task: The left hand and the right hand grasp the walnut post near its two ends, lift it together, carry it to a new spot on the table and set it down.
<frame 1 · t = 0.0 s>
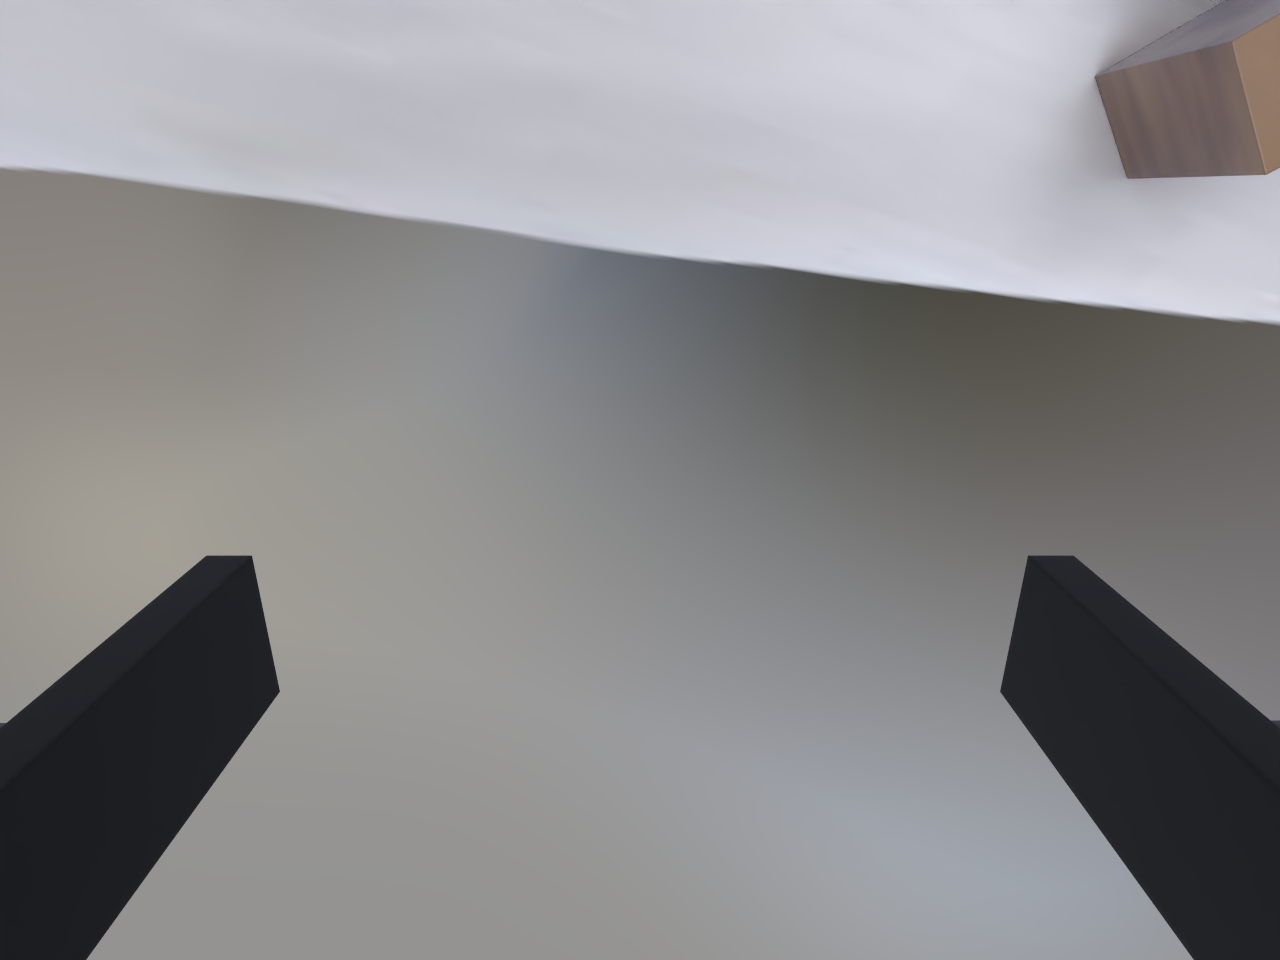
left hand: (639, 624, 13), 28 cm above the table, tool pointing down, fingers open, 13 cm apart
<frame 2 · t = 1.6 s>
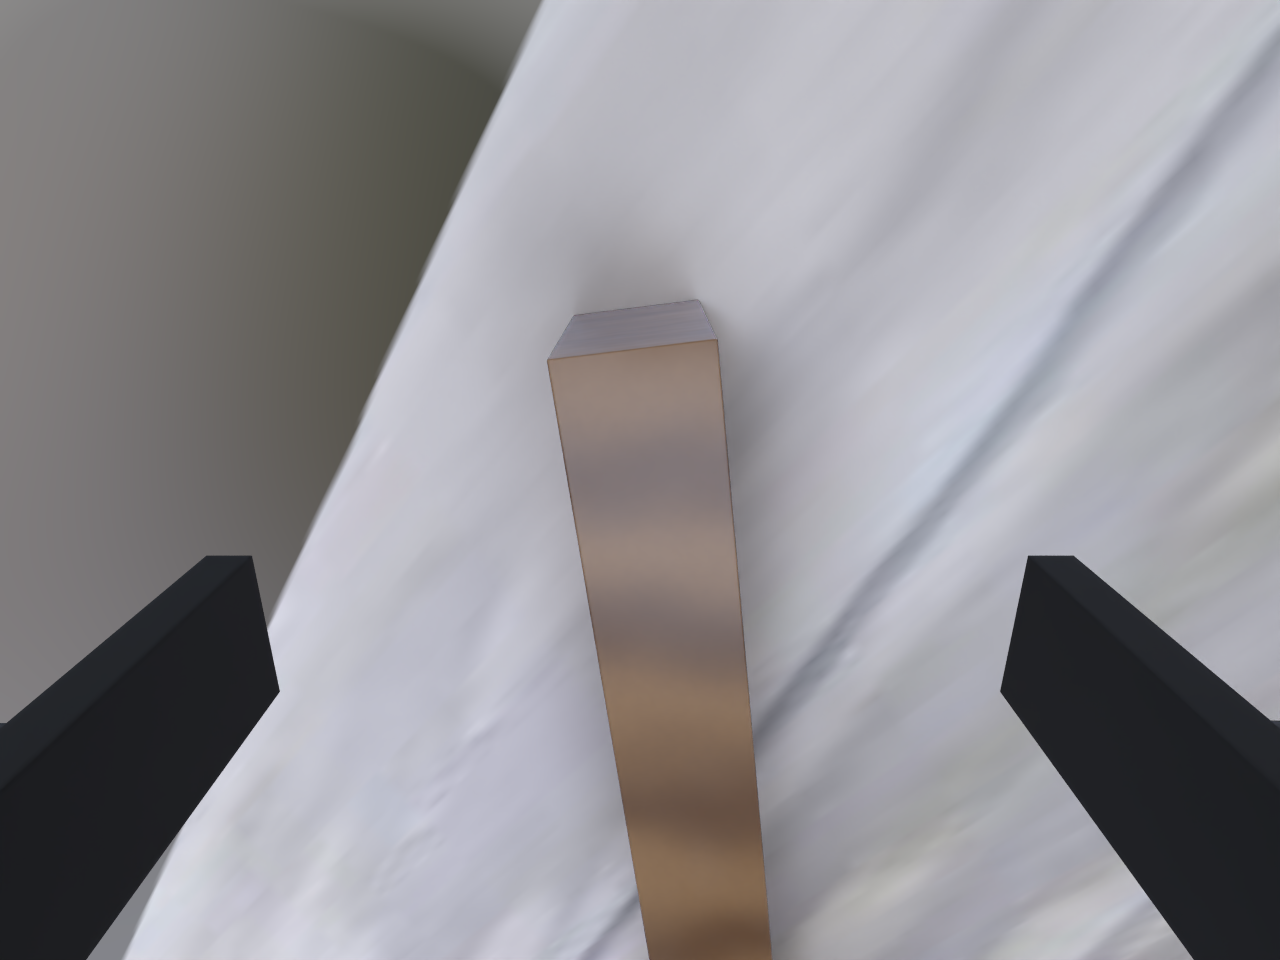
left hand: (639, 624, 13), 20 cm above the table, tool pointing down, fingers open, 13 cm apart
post: (705, 864, 41), on the table
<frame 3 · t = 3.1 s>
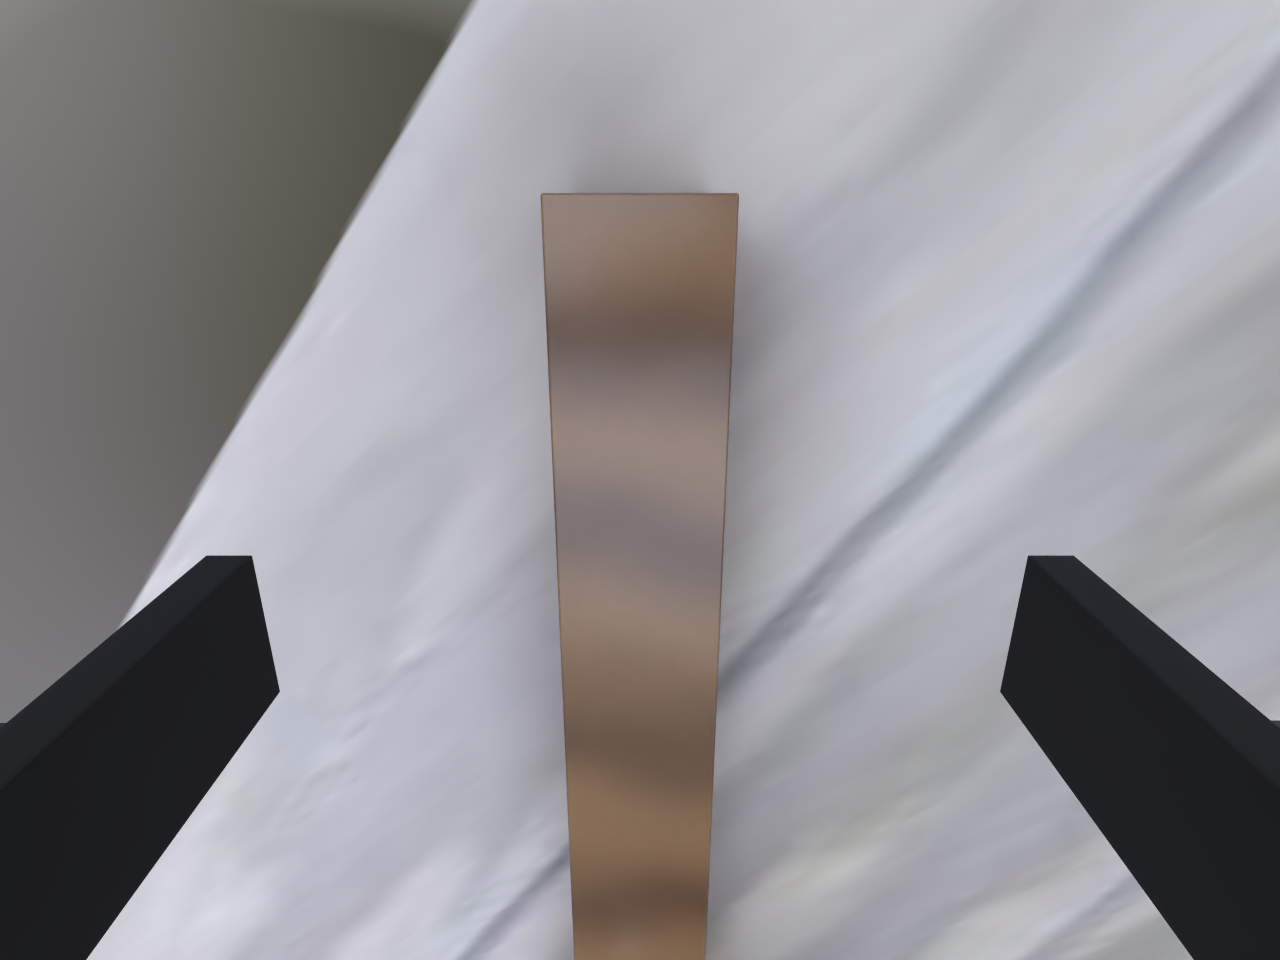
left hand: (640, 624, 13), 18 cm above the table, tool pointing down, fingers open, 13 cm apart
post: (639, 828, 38), on the table, touching right hand
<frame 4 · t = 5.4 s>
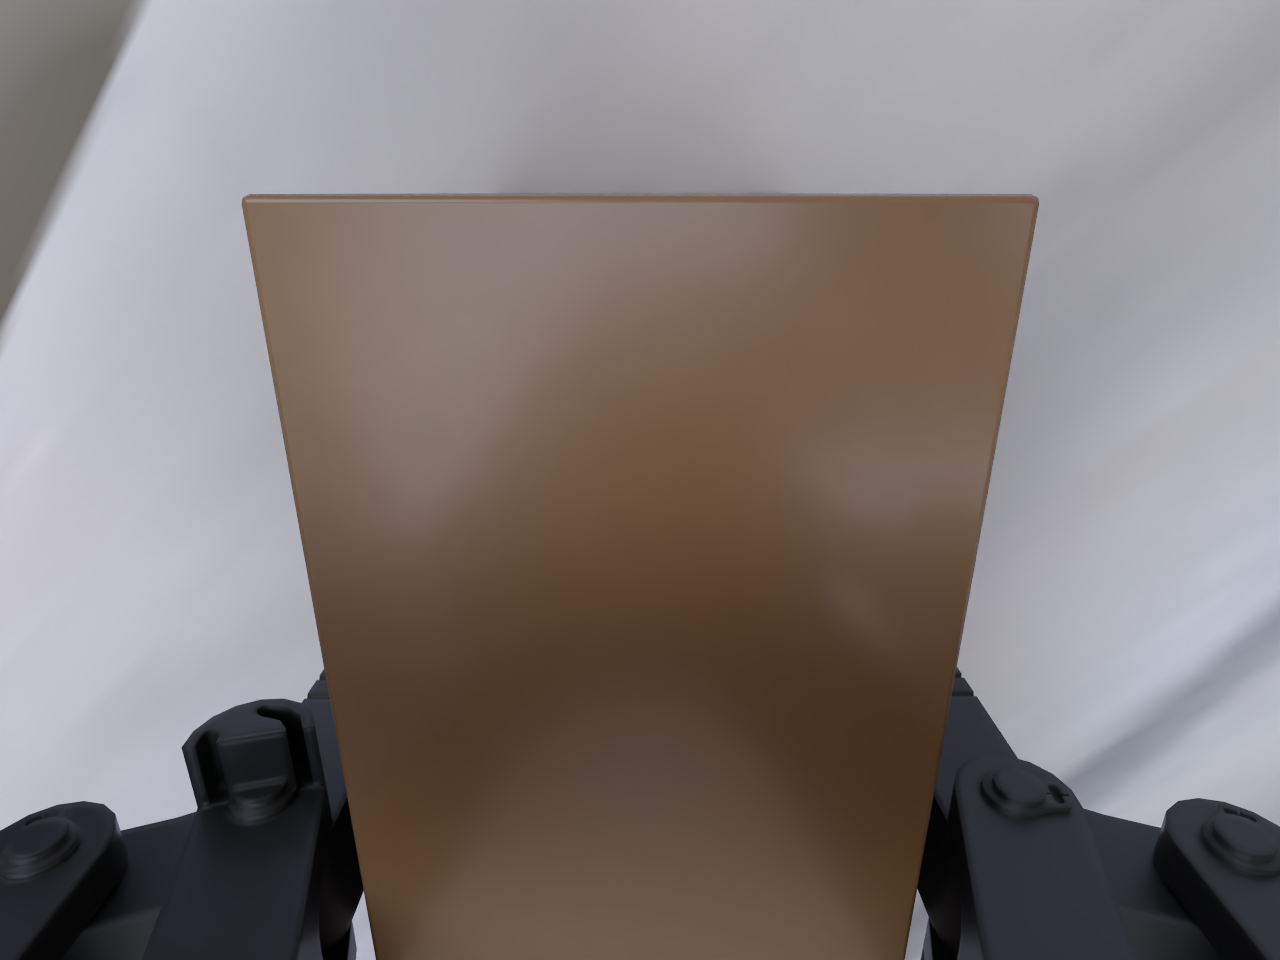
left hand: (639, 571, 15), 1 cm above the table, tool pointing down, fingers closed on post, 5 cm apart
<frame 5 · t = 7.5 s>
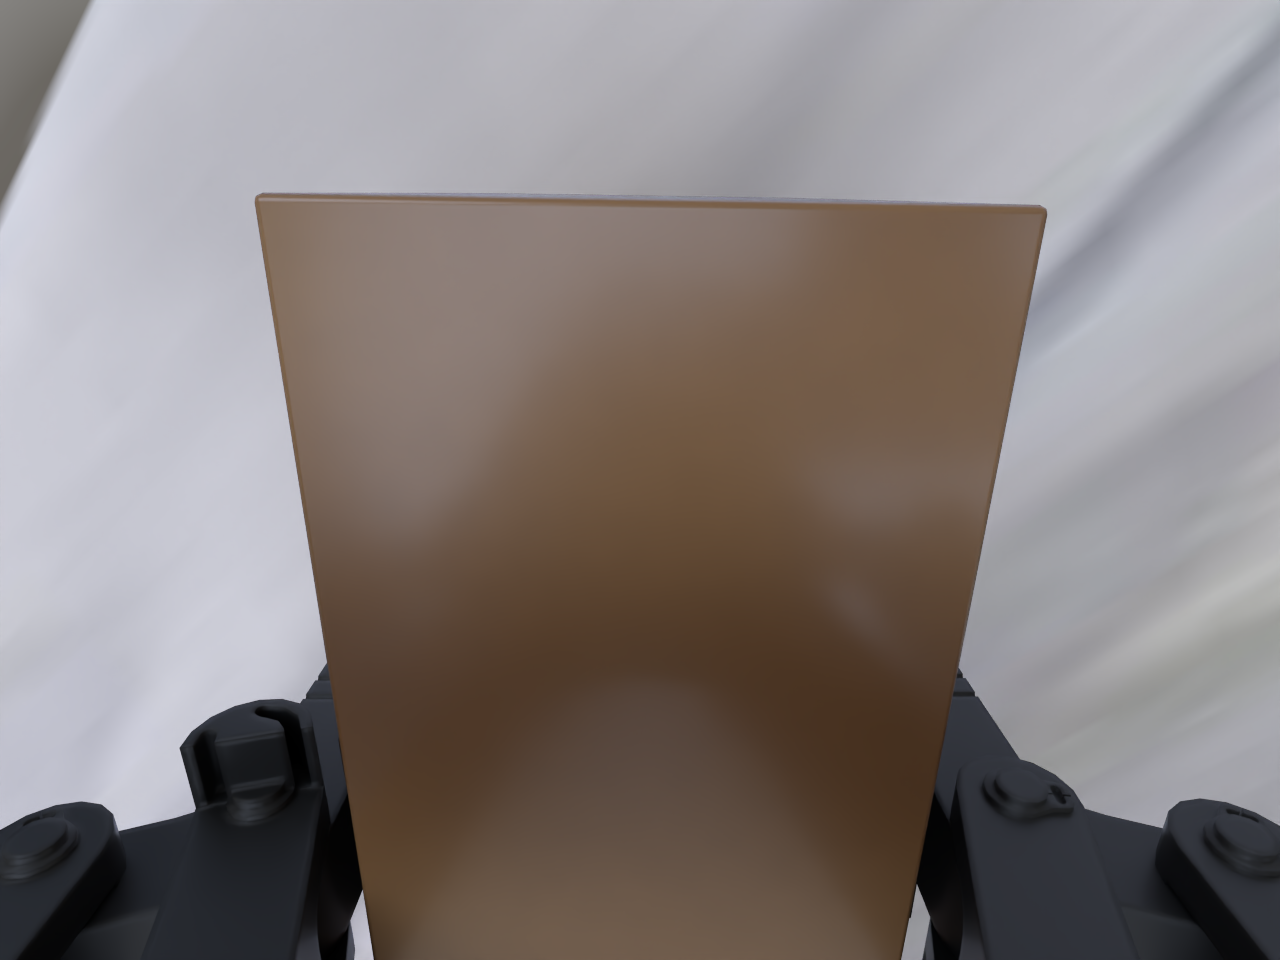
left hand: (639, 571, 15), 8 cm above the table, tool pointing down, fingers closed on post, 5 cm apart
when the left hand's fingers open (2 cm above the table, at t = 9.9 s): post drops 1 cm, on the table.
when the right hand's fingers open (2 cm above the table, at t = 9.9 s): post drops 1 cm, on the table.
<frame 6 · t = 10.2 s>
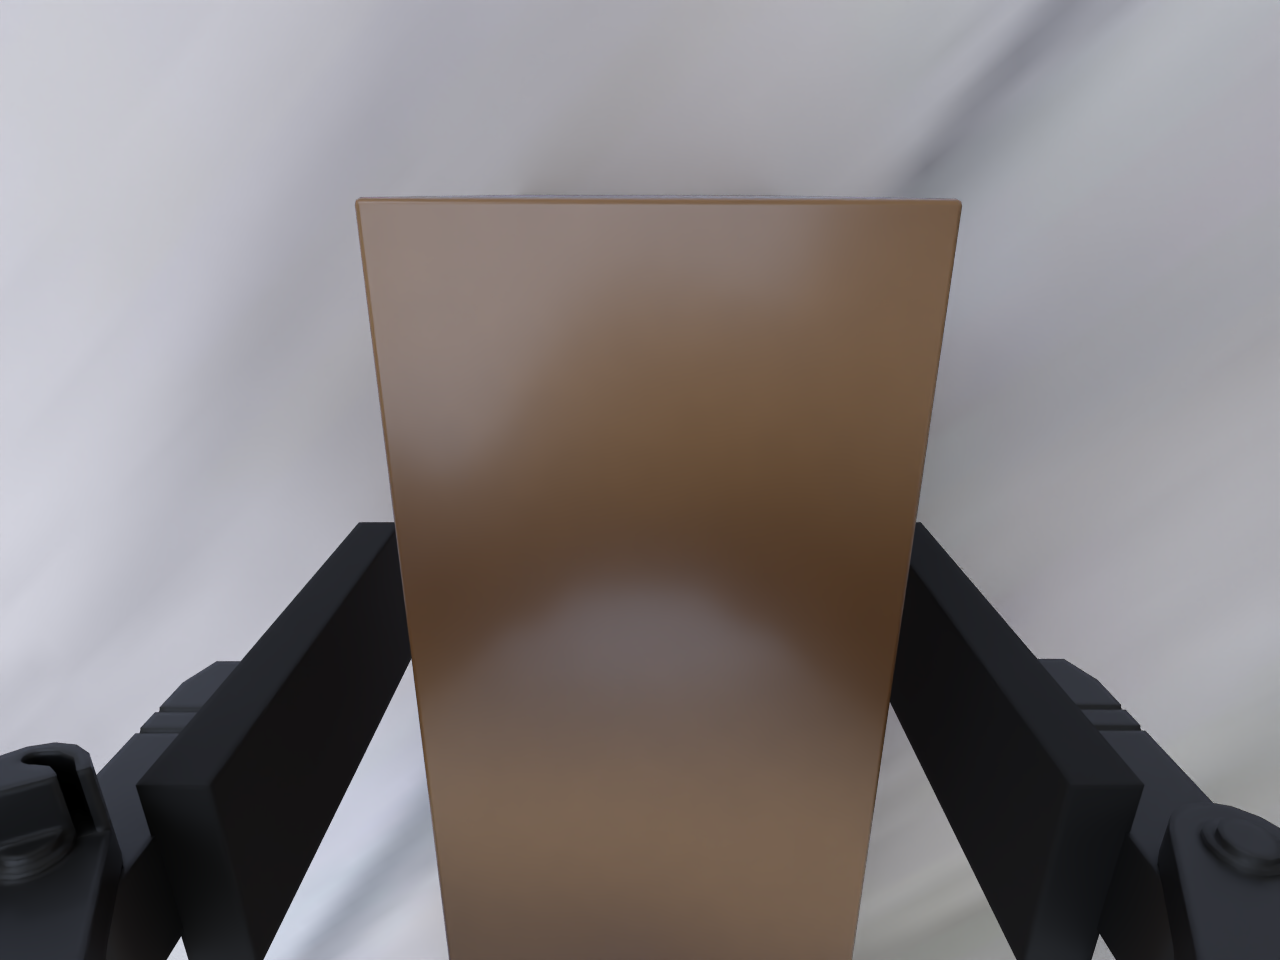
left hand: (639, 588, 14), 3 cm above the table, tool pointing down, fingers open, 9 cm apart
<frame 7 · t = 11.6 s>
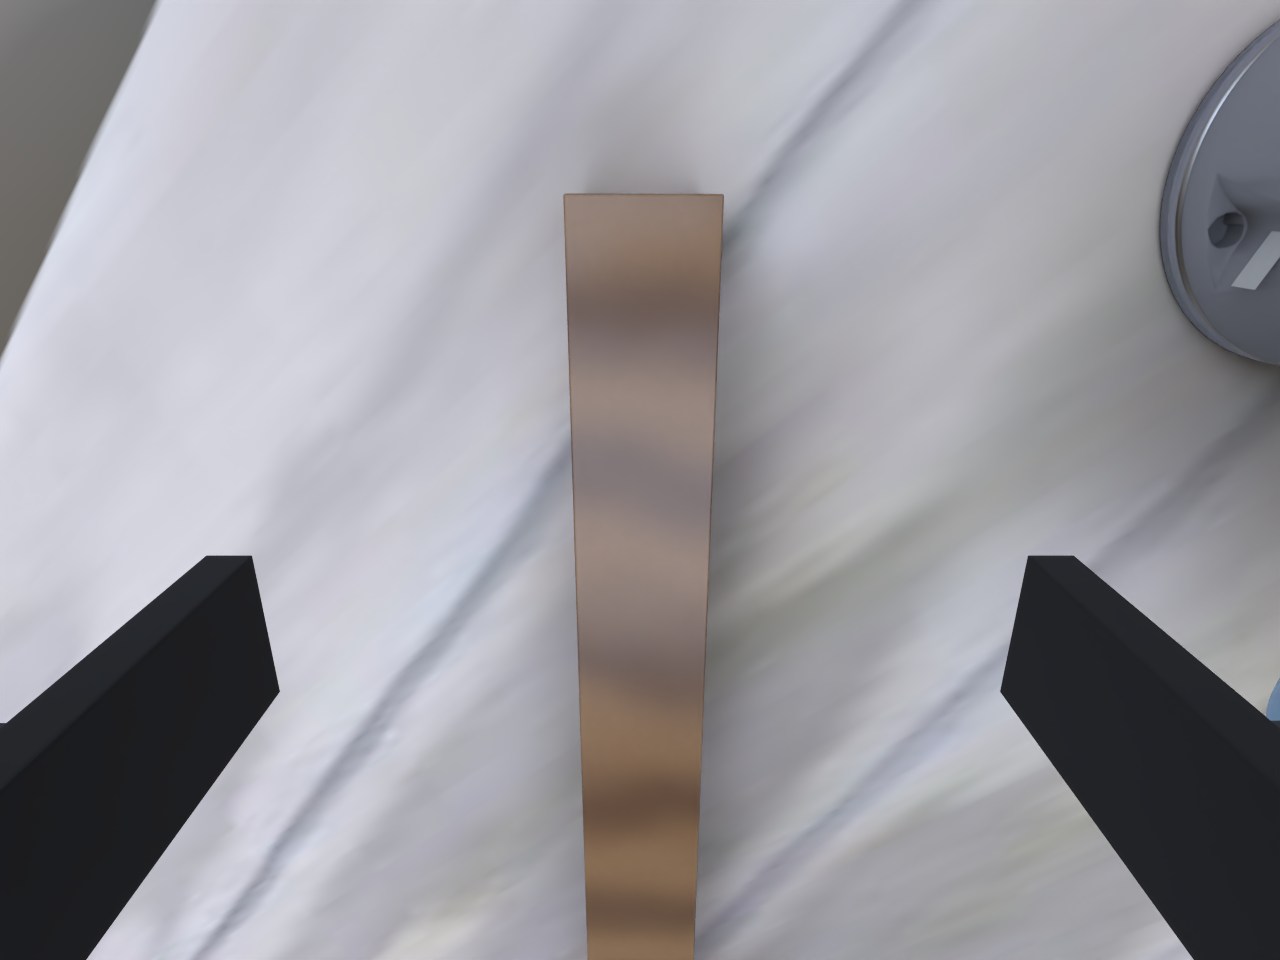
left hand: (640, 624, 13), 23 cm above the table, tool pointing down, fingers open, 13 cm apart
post: (640, 760, 43), on the table
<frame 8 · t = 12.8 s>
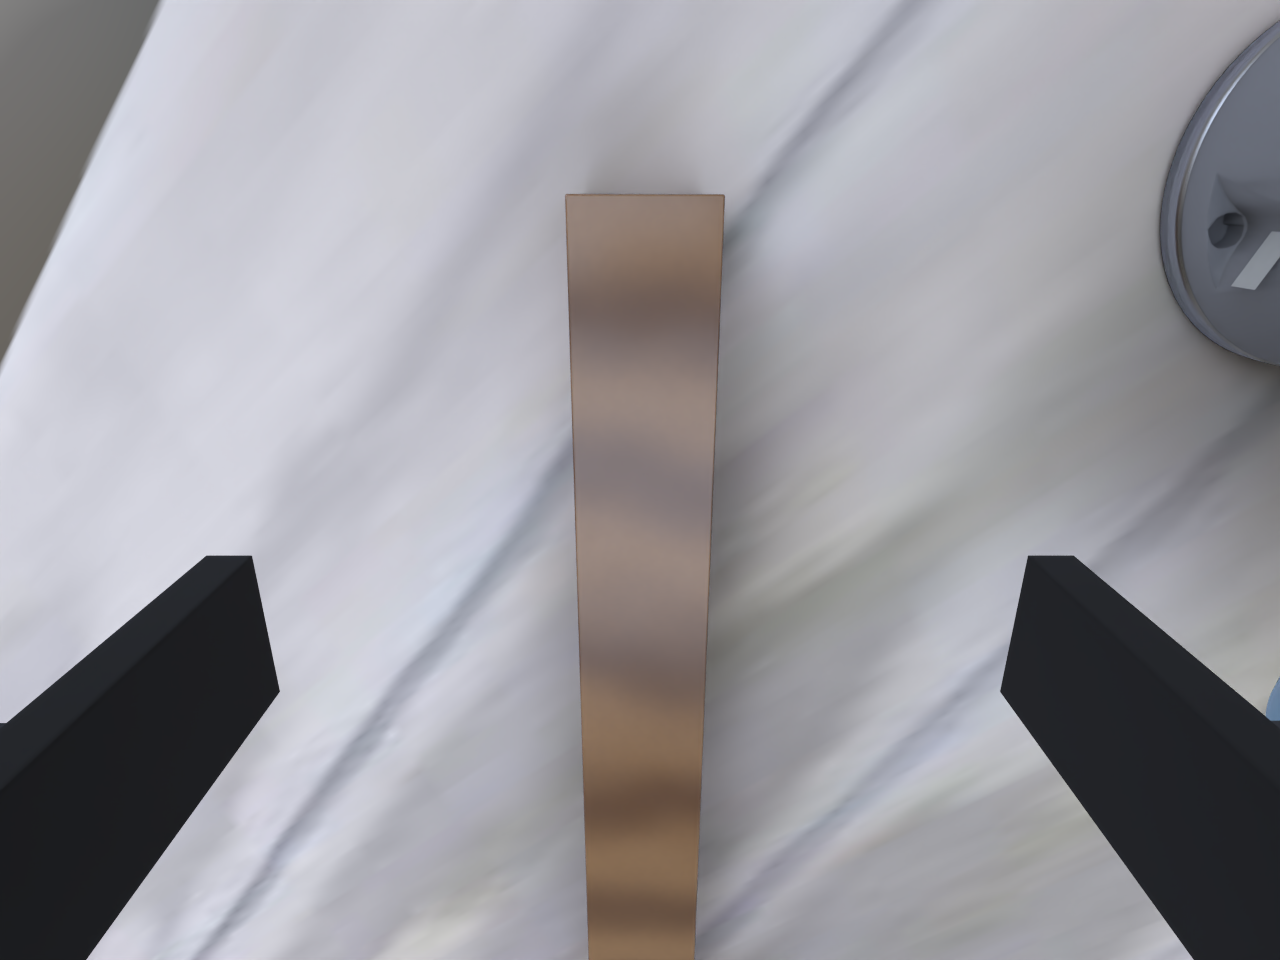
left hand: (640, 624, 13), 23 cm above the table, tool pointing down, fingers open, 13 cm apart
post: (641, 759, 43), on the table
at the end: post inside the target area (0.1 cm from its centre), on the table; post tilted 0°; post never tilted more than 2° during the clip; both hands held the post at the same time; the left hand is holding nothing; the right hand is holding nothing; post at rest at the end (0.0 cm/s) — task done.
